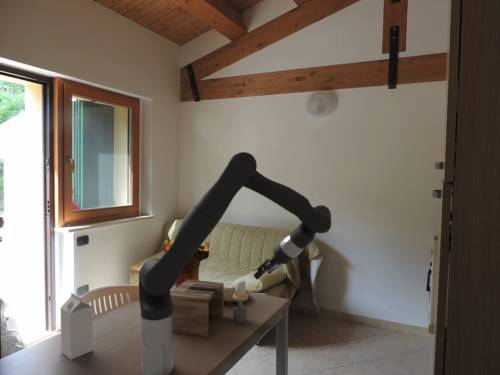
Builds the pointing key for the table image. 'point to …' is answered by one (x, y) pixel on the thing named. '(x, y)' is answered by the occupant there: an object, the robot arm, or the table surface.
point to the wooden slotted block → (196, 306)
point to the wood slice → (229, 297)
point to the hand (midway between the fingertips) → (261, 274)
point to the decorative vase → (191, 263)
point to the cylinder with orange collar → (240, 302)
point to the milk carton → (76, 327)
